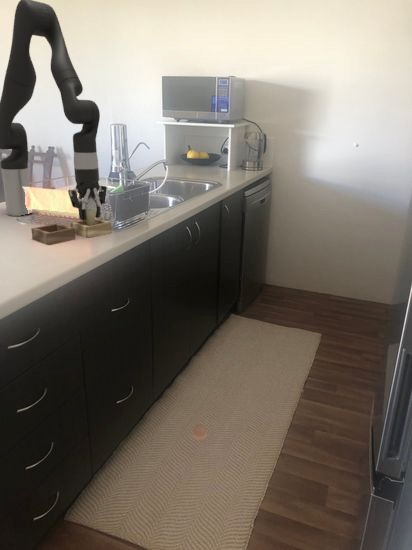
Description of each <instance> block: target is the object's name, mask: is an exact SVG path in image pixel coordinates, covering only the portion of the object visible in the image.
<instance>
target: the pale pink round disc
mask: <svg viewBox="0 0 412 550" xmlns="http://www.w3.org/2000/svg"><path fill="white" fill-rule="evenodd" d="M192 438H193V439H194V440H195V441H198V442H201V441H204V440H206V439H207V438H208V428H207V426H206V425H205V424H204V425H203V424H196V425H194V426H193V428H192Z"/></svg>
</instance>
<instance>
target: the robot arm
mask: <svg viewBox="0 0 412 550" xmlns="http://www.w3.org/2000/svg"><path fill="white" fill-rule="evenodd" d="M33 36H36V37H41V38H44V39H46V41H47V43H48V45H49V46H50V49H51V58H50V72H51V75H52V77H53V80H54V82H55V84H56V86H57V88H58V90H59V93H60V99H61V103H62V109H63V113H64V116H65V118H66V119H67V120H68V122H70V123H71V124H74V125H81V126H82V127H81V130H80V131H77V132H75V133H74V134H72V135H73V136H72V144H73V145H72V146H73V167H74V179H75V183H76V185H75V188H73V189H68V191H67V192H68V195H69V199H70V202H71V206H72V208H76V209H78V218H79V219H80V221H81V220H83V221H84V220H86V210H85V205H86V203H87V200H88V199H89V198H90V197H91V198H93V200H94V201H95V202H96V205H97V212H96V217H95V219H99V218H100V217H101V215H102V214H101V206H102V205H105V203H106V200H107V199H106V198H107V189H108V186H106V185H100V171H99V170H100V169H99V159H98V151H97V135H98V134H97V133H98V128H99V124H100V117H101V114H100V109H99V107H98V104H97V103H96V102H95V101H93V100H91V99H78V97H79V96H80V95H81V94H82V93H83V89H84V88H83V84H82V82H81V80H80V78H79V75H78V73H77V71H76V70H75V68H74V65H73V63H72V60H71V58H70V54H69V52H68V48H67V44H66V41H65V37H64V35H63V32H62V28H61V25H60V21H59V18H58V15H57V13H56V11H55V9H54V8H53V7H52V6H51V5H49V4H47V3H45V2H40V1H36V0H19V1H18V3H17V5H16V8H15V11H14V18H13V28H12V39H11V47H10V52H9V58H8V62H7V67H6V71H5V75H4V80H3V86H2V92H1V96H0V150H11V153H10V154H9V155H8V156H6V157H5V158H3V159H2V160H1V161H0V169H1V170H0V171H1V177H2V182H3V194H4V201H5V207H6V208H5V210H6V213H7V215H8V216H10V217H11V216H14V217H22V216H21V215H24V216H26V215H25V214H28V210H27V208H26V205H25V192H24V190H23V188H22V186H30V187H31V181H30V174H29V165H28V164H29V146H28V135H27V130H26V129H25V127H24V125H22V124H21V123H20V122H14V119H15V118H16V116H17V115H18V114H19V112H20V111H21V110H22V109H24V108H25V106H26V105H27V104H28V103H29V102H30V101H31V99H32V97H33V94H34V90H35V86H36V83H37V72H36V69H35V66H34V63H33V60H32V58H31V52H30V48H31V42H32V37H33Z"/></svg>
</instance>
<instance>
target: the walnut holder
mask: <svg viewBox="0 0 412 550" xmlns="http://www.w3.org/2000/svg"><path fill="white" fill-rule="evenodd" d="M30 230H31V239H32V240H34V241H37V242H38V243H39V242H40V243H41V244H42V243H43V244H46V245H48V246H50V245H55V244H59V243H64V242H68V241H72V240H76V234H75V228H72V227H71V226H68V225H65V224H62V223H52V224H47V225H42V226H37V227H31V229H30Z"/></svg>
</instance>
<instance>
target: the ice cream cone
mask: <svg viewBox="0 0 412 550" xmlns="http://www.w3.org/2000/svg"><path fill="white" fill-rule="evenodd" d="M85 210H86V222H87V224H88V226H92V225H94V221H95V219H96V212H97V205H96V202H95V201H94V200H93V198H91V197H90V198H89V199H88V200H87V203H86V205H85Z"/></svg>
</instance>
